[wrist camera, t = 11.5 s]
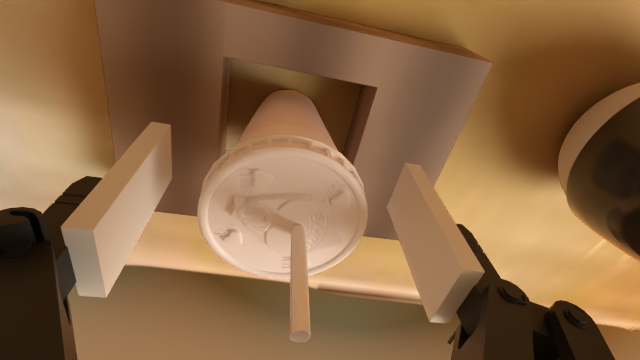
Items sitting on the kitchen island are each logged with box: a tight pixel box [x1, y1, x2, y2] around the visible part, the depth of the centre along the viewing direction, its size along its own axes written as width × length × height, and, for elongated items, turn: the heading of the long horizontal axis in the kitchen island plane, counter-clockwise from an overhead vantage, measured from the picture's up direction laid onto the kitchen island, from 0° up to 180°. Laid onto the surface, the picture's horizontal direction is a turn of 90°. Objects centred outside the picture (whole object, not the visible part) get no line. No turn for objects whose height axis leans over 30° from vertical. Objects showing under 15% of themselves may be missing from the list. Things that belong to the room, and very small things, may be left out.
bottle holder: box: [94, 0, 493, 240], centre depth 19 cm, size 18×12×3 cm, turn 78°
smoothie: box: [197, 90, 368, 342], centre depth 15 cm, size 6×6×14 cm
